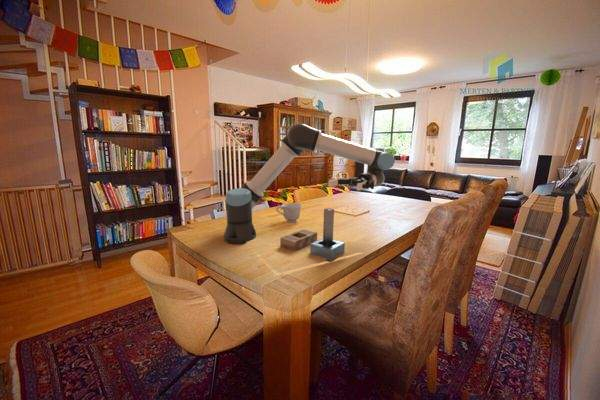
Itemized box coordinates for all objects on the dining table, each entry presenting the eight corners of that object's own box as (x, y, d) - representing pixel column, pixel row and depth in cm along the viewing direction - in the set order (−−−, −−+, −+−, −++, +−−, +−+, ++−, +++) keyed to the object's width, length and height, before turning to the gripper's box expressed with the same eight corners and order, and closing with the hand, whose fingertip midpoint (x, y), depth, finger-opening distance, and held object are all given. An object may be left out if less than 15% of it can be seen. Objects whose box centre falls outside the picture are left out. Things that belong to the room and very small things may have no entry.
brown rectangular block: (294, 253, 106) (294, 242, 105) (280, 248, 111) (280, 237, 110) (317, 242, 118) (317, 232, 117) (303, 239, 123) (303, 229, 122)
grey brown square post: (326, 254, 103) (328, 211, 99) (320, 251, 106) (321, 209, 103) (334, 253, 105) (336, 210, 101) (328, 249, 108) (330, 208, 105)
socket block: (330, 262, 99) (331, 249, 98) (310, 255, 105) (310, 243, 104) (344, 254, 106) (344, 242, 105) (324, 248, 112) (324, 237, 111)
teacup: (276, 219, 157) (276, 203, 155) (300, 218, 159) (300, 202, 157) (276, 224, 146) (276, 207, 144) (303, 224, 147) (303, 207, 145)
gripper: (390, 191, 116) (370, 198, 100) (342, 185, 132) (318, 190, 116) (392, 175, 115) (371, 179, 99) (343, 171, 130) (318, 173, 114)
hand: (342, 185), depth 107 cm, fingers open, 13 cm apart
